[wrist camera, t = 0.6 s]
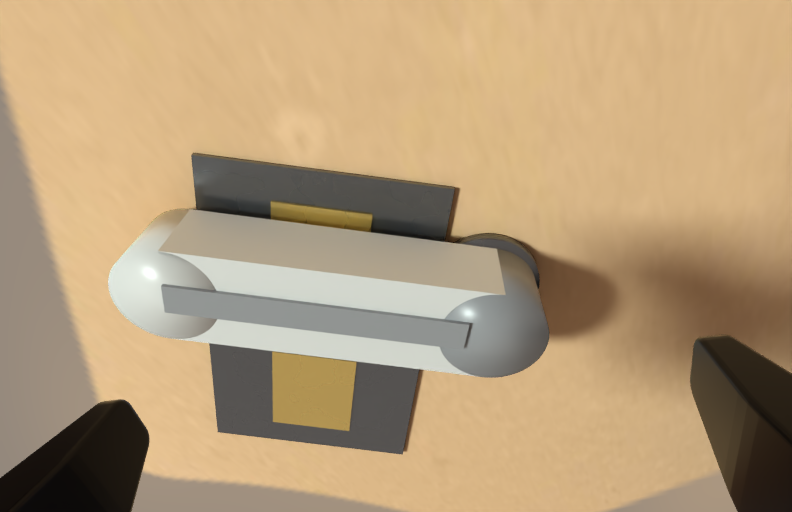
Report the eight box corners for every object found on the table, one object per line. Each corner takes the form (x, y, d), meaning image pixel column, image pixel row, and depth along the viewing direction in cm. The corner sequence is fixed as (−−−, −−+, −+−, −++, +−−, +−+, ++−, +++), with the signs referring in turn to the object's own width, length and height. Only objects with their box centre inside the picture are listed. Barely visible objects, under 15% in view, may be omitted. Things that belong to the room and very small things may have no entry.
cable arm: (522, 331, 24) (533, 386, 21) (151, 285, 23) (116, 334, 21) (547, 255, 21) (563, 305, 19) (138, 202, 21) (96, 245, 18)
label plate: (479, 460, 30) (479, 468, 29) (219, 429, 29) (216, 436, 29) (562, 201, 21) (565, 207, 20) (193, 153, 21) (188, 158, 20)
